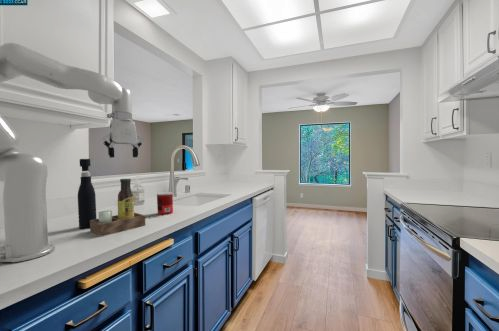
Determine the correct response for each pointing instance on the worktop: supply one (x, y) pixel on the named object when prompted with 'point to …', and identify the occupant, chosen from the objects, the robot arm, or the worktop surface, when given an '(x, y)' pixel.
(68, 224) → the worktop surface
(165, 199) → the canned food
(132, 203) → the sauce bottle
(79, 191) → the black water bottle
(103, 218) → the pale green rounded block
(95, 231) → the walnut caddy
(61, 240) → the worktop surface
